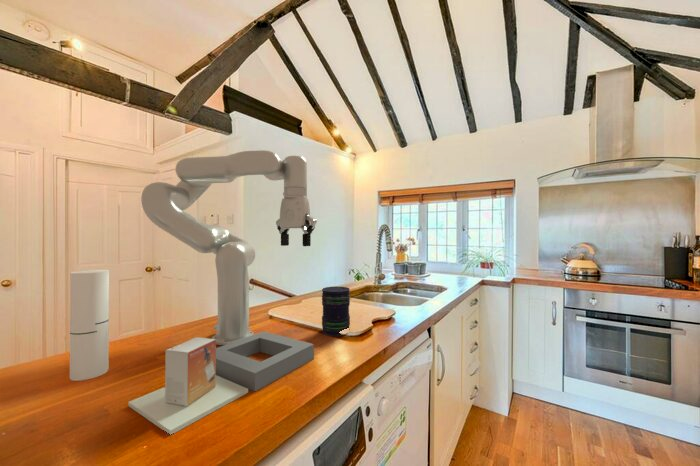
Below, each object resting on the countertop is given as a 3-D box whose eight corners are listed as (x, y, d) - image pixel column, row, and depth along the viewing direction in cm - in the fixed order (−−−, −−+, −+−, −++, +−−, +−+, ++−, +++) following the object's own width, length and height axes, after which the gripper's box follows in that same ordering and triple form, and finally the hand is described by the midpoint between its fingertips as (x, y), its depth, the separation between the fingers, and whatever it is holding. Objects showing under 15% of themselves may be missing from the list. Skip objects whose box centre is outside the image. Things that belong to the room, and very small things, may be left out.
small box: (186, 407, 56) (187, 352, 57) (164, 403, 58) (164, 349, 58) (216, 387, 64) (216, 338, 64) (195, 383, 66) (196, 336, 66)
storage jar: (326, 337, 97) (326, 292, 97) (318, 328, 106) (318, 287, 106) (354, 334, 101) (354, 290, 101) (344, 325, 110) (344, 285, 110)
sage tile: (128, 405, 58) (128, 401, 58) (204, 373, 72) (205, 370, 72) (170, 435, 50) (170, 430, 50) (248, 392, 63) (248, 388, 63)
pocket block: (201, 369, 74) (201, 353, 74) (263, 344, 91) (263, 331, 91) (255, 391, 64) (255, 373, 64) (313, 358, 81) (313, 344, 81)
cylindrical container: (115, 369, 74) (115, 270, 74) (81, 382, 68) (82, 273, 68) (96, 365, 77) (97, 269, 77) (62, 377, 70) (63, 272, 70)
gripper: (268, 195, 99) (268, 245, 99) (307, 190, 90) (307, 246, 90) (284, 197, 106) (284, 245, 106) (322, 193, 96) (323, 246, 96)
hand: (295, 245), depth 98 cm, fingers open, 9 cm apart
